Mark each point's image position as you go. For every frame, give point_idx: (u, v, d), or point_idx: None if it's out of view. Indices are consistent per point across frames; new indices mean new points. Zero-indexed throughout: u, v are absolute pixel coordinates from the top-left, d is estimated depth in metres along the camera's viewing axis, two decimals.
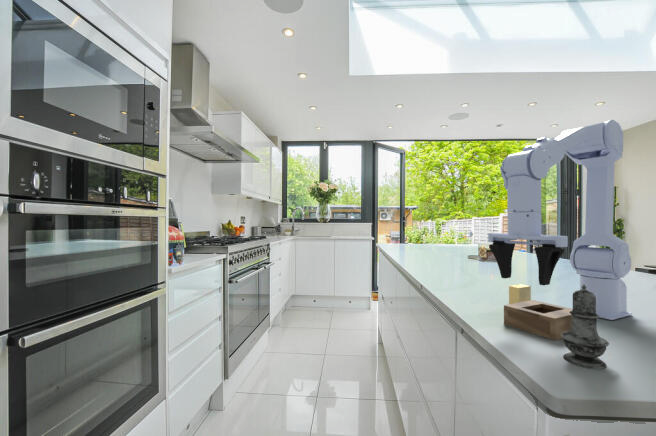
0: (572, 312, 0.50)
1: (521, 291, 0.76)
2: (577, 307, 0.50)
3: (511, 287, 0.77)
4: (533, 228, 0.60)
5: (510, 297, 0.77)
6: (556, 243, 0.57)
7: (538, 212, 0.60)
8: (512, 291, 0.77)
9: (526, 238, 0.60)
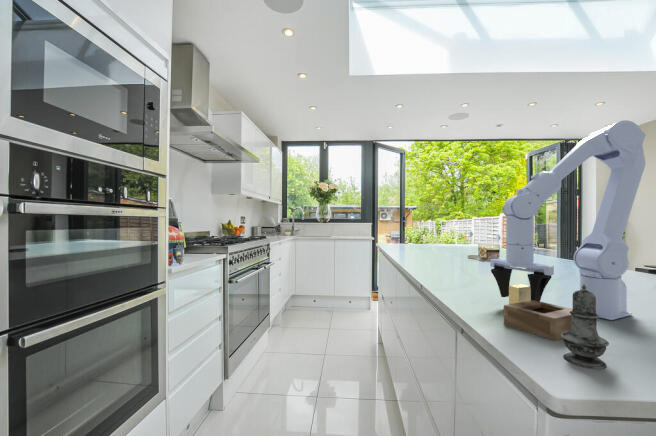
0: (572, 312, 0.50)
1: (521, 291, 0.76)
2: (577, 307, 0.50)
3: (511, 287, 0.77)
4: (526, 258, 0.75)
5: (510, 297, 0.77)
6: (544, 272, 0.71)
7: (531, 245, 0.75)
8: (512, 291, 0.77)
9: (521, 266, 0.75)
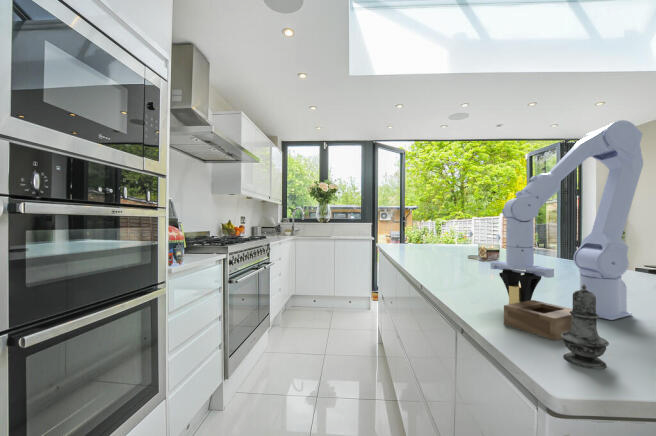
0: (572, 312, 0.50)
1: None
2: (577, 307, 0.50)
3: (511, 287, 0.77)
4: (526, 260, 0.75)
5: (510, 297, 0.77)
6: (545, 274, 0.71)
7: (531, 248, 0.75)
8: (512, 291, 0.77)
9: (521, 269, 0.75)
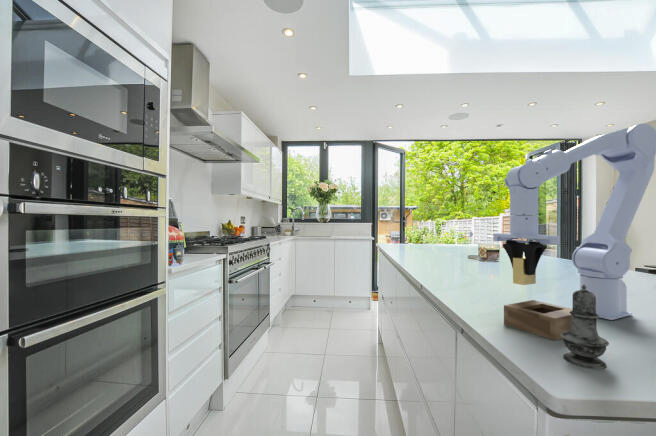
0: (572, 312, 0.50)
1: None
2: (577, 307, 0.50)
3: (515, 259, 0.75)
4: (531, 229, 0.72)
5: (514, 269, 0.75)
6: (550, 241, 0.69)
7: (535, 216, 0.72)
8: (516, 263, 0.74)
9: (525, 237, 0.72)
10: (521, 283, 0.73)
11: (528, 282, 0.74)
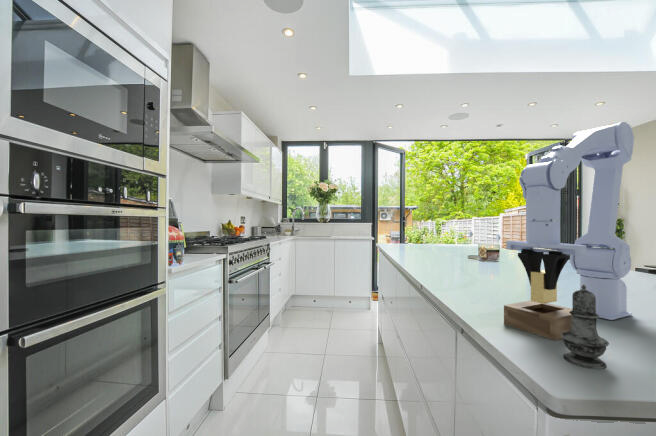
0: (572, 312, 0.50)
1: None
2: (577, 307, 0.50)
3: (534, 273, 0.65)
4: (552, 236, 0.62)
5: (532, 285, 0.65)
6: (575, 252, 0.59)
7: (557, 221, 0.63)
8: (535, 278, 0.65)
9: (545, 246, 0.62)
10: (541, 301, 0.64)
11: (549, 300, 0.64)
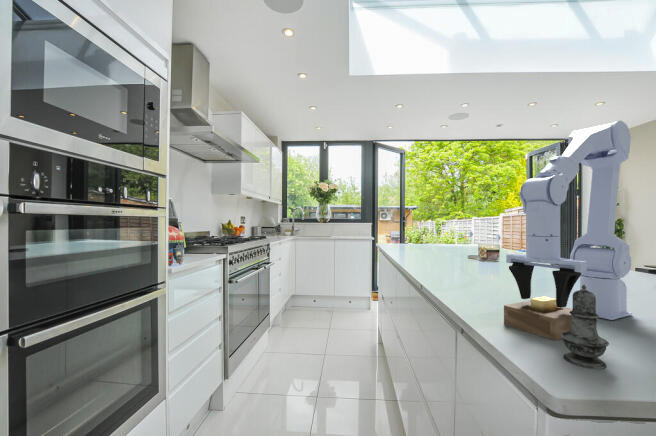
0: (572, 312, 0.50)
1: (546, 305, 0.64)
2: (577, 307, 0.50)
3: (533, 300, 0.65)
4: (552, 252, 0.62)
5: None
6: (575, 268, 0.59)
7: (557, 237, 0.63)
8: (534, 305, 0.65)
9: (545, 262, 0.62)
10: None
11: None
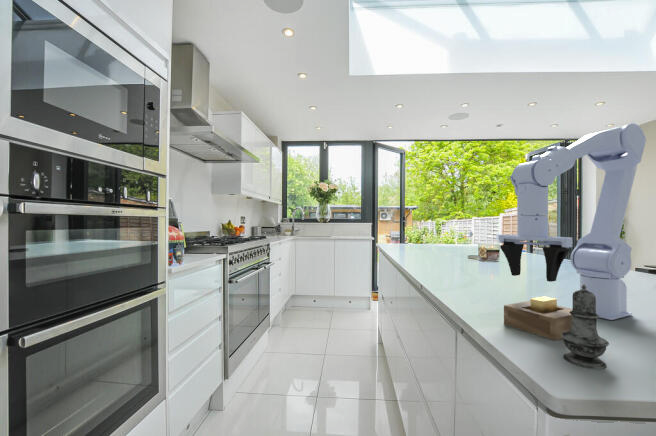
0: (572, 312, 0.50)
1: (546, 305, 0.64)
2: (577, 307, 0.50)
3: (533, 300, 0.65)
4: (541, 230, 0.67)
5: None
6: (562, 244, 0.64)
7: (545, 216, 0.67)
8: (534, 305, 0.65)
9: (535, 239, 0.67)
10: None
11: None
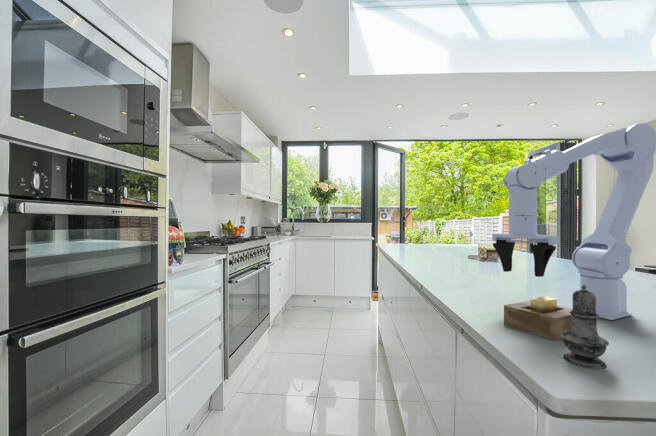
0: (572, 312, 0.50)
1: (546, 305, 0.64)
2: (577, 307, 0.50)
3: (533, 300, 0.65)
4: (530, 229, 0.72)
5: None
6: (549, 242, 0.69)
7: (534, 216, 0.72)
8: (534, 305, 0.65)
9: (524, 237, 0.72)
10: None
11: None
